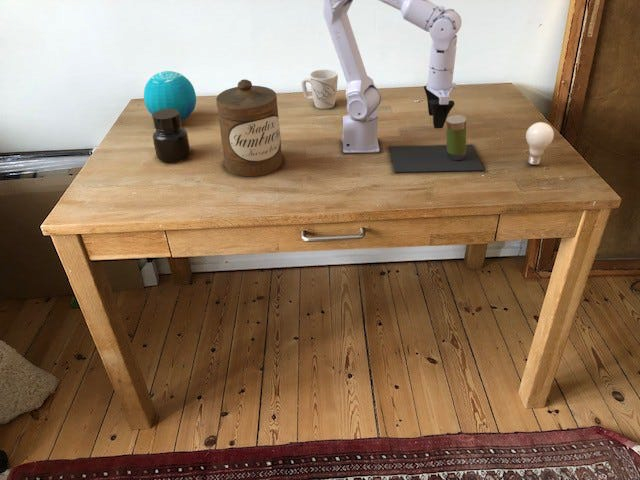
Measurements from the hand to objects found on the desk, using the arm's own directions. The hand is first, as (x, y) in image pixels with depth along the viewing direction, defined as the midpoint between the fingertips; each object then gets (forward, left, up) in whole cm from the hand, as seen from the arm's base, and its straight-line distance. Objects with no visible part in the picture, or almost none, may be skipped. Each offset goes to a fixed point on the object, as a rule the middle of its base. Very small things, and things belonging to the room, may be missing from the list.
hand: (435, 121), depth 135 cm
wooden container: (-46, 0, -11) cm, 47 cm away
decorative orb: (-73, +28, -11) cm, 79 cm away
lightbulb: (+25, -4, -11) cm, 27 cm away
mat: (+1, 0, -10) cm, 10 cm away
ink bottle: (-68, +5, -11) cm, 69 cm away
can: (+6, 0, -10) cm, 11 cm away
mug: (-29, +38, -11) cm, 49 cm away
